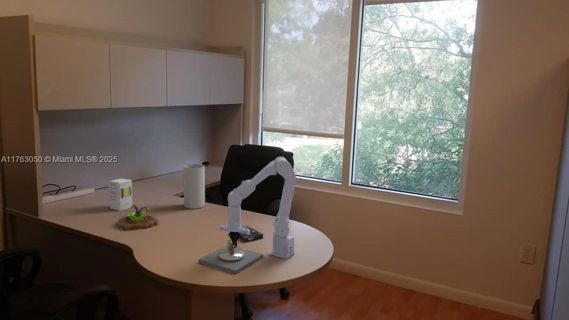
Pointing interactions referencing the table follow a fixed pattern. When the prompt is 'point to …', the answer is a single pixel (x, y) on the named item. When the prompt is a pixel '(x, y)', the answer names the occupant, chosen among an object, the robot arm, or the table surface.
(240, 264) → the dial panel
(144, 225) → the plant
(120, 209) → the supplement box
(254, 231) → the disk drive
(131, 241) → the table surface
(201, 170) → the cylinder vase
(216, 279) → the table surface
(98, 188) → the table surface
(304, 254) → the table surface
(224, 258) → the dial
